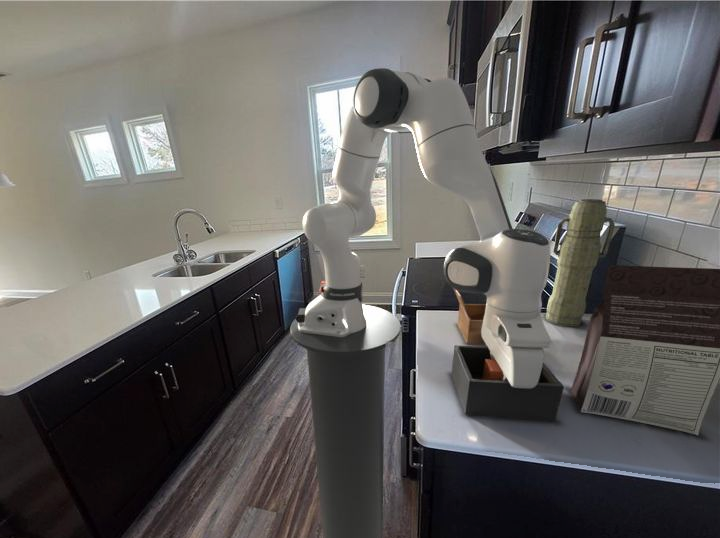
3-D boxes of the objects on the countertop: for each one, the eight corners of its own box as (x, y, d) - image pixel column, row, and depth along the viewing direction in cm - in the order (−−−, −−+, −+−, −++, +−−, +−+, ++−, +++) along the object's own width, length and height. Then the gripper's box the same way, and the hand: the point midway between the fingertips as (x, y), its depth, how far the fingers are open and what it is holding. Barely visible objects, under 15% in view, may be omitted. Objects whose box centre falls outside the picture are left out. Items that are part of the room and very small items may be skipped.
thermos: (537, 312, 102) (560, 199, 90) (583, 317, 97) (614, 197, 84) (540, 323, 95) (565, 202, 83) (590, 329, 90) (625, 200, 77)
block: (487, 397, 64) (491, 370, 62) (481, 384, 68) (485, 358, 66) (510, 399, 64) (516, 372, 61) (503, 386, 68) (508, 359, 65)
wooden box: (466, 343, 86) (469, 320, 84) (457, 324, 97) (459, 303, 95) (523, 345, 84) (527, 321, 81) (507, 325, 95) (510, 304, 92)
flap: (470, 318, 84) (468, 318, 84) (460, 301, 95) (459, 302, 95) (461, 296, 82) (459, 296, 82) (452, 281, 93) (450, 282, 93)
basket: (465, 414, 61) (469, 381, 59) (451, 374, 74) (454, 345, 71) (555, 421, 58) (564, 386, 56) (525, 378, 71) (531, 347, 68)
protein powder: (672, 405, 61) (731, 262, 51) (701, 438, 53) (777, 279, 43) (567, 387, 67) (601, 258, 57) (579, 414, 60) (621, 272, 50)
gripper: (477, 298, 70) (471, 352, 75) (512, 342, 51) (500, 411, 56) (509, 298, 69) (500, 353, 74) (556, 344, 50) (539, 414, 55)
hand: (500, 379), depth 65 cm, fingers closed on block, 4 cm apart
